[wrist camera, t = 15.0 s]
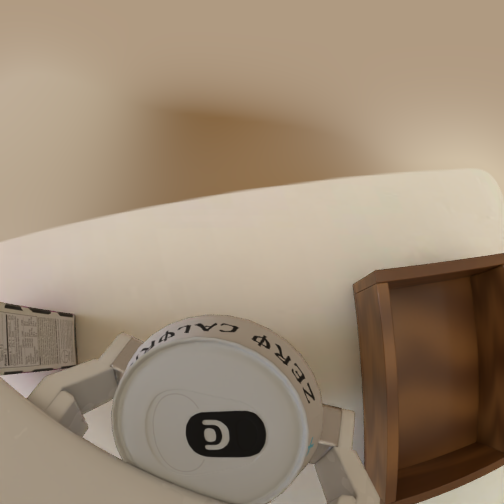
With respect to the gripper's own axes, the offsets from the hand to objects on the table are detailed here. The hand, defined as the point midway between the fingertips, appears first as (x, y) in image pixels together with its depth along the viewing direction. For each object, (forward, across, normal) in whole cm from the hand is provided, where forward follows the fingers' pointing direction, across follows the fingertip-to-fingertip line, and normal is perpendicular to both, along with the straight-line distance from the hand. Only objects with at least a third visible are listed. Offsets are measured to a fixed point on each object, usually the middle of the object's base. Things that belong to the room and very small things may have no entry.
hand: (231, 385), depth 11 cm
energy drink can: (+7, 0, +8) cm, 11 cm away
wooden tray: (+10, -14, +7) cm, 19 cm away
